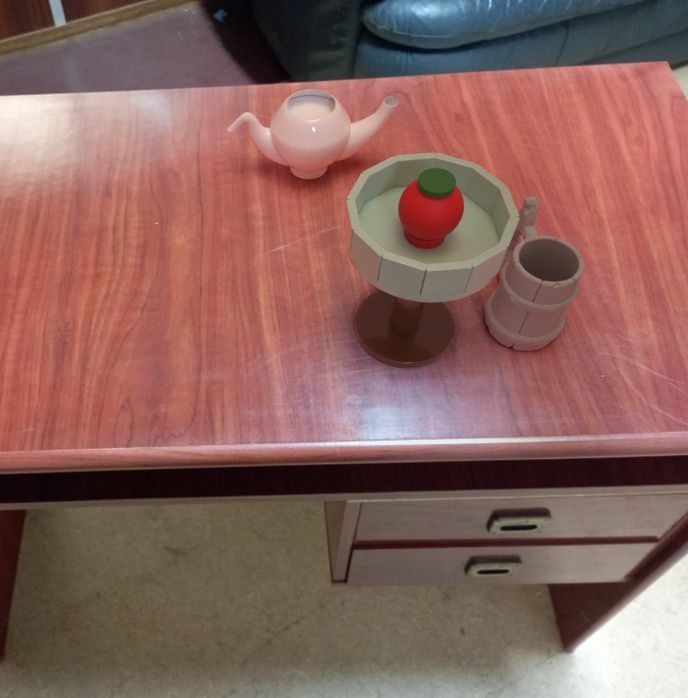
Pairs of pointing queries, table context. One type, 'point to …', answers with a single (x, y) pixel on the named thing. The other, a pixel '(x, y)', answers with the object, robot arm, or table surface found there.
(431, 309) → the dish
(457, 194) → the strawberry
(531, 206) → the mug
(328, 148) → the teapot
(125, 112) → the table surface
